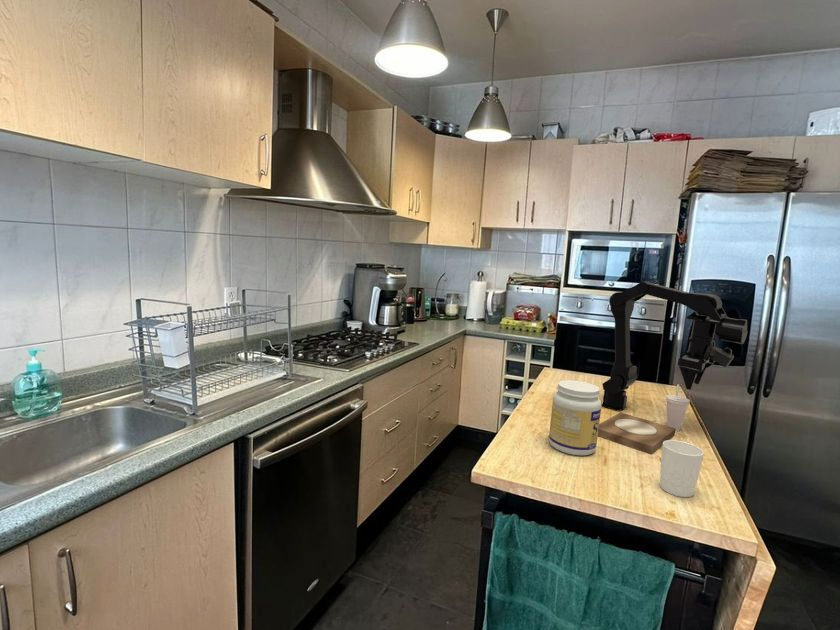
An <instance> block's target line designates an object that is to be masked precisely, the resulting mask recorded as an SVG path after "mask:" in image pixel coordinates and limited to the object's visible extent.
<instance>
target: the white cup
mask: <svg viewBox="0 0 840 630" xmlns="http://www.w3.org/2000/svg"><path fill="white" fill-rule="evenodd" d="M661 448H662V449H661V459H660V460H661V461H660V471H659V472H660V473H659V474H660V479H659V487H660V488H661V489H662V490H663V491H665V492H667V494H668V493H669V494H670V495H673V496H676V497H681V498H691V497H693V496H694V494H695V491H696V486H697V483H698V480H699V477H700V471H701V467H702V462H703V458H704V455H705V454H704V453H705V452H704V450H703V449H702V448H700V447H698V446H697V445H695V444H692V443H689V442H685V441H681V440H674V439H670V440H667V441H664V442H663V446H661Z"/></svg>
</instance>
